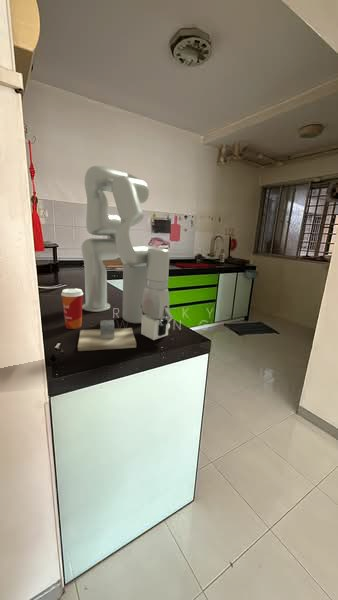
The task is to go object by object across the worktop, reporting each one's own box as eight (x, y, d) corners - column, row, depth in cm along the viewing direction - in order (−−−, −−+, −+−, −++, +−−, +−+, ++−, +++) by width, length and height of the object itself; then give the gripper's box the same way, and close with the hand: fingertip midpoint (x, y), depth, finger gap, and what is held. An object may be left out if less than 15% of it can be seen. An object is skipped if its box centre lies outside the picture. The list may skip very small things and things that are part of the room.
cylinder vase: (126, 325, 100) (127, 262, 93) (119, 314, 111) (120, 257, 104) (155, 322, 105) (159, 262, 98) (147, 312, 116) (149, 258, 109)
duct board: (80, 333, 90) (80, 330, 89) (131, 331, 95) (131, 327, 94) (77, 351, 78) (77, 346, 77) (136, 347, 83) (136, 343, 82)
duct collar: (141, 333, 93) (141, 315, 91) (160, 327, 100) (161, 310, 98) (153, 340, 89) (154, 321, 87) (173, 333, 96) (174, 315, 94)
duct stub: (100, 334, 87) (100, 320, 86) (113, 333, 88) (113, 320, 87) (100, 339, 83) (100, 325, 82) (114, 338, 84) (114, 324, 83)
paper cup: (62, 323, 98) (60, 288, 94) (83, 321, 101) (82, 287, 97) (63, 331, 91) (61, 293, 87) (85, 329, 94) (84, 292, 90)
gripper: (133, 280, 91) (132, 326, 96) (166, 291, 80) (163, 342, 85) (149, 278, 97) (147, 322, 102) (182, 288, 85) (178, 336, 90)
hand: (154, 331), depth 93 cm, fingers closed on duct collar, 7 cm apart
